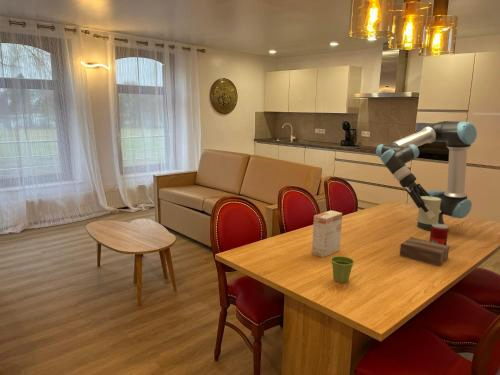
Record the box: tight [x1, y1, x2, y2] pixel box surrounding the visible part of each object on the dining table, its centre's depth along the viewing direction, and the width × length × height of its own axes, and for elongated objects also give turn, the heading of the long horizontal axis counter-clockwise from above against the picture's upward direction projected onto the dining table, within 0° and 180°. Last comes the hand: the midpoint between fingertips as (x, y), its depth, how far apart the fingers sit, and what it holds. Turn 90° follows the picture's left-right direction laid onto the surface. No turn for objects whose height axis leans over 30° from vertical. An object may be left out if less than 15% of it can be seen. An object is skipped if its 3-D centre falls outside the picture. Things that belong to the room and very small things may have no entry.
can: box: [416, 196, 441, 224], centre depth 176 cm, size 9×9×12 cm
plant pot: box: [330, 255, 355, 284], centre depth 152 cm, size 9×9×9 cm
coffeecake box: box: [311, 210, 343, 258], centre depth 182 cm, size 15×7×20 cm, turn 134°
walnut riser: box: [399, 236, 450, 267], centre depth 180 cm, size 14×18×6 cm
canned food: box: [429, 223, 449, 245], centre depth 195 cm, size 8×8×11 cm
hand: (435, 215), depth 174 cm, fingers closed on can, 9 cm apart
